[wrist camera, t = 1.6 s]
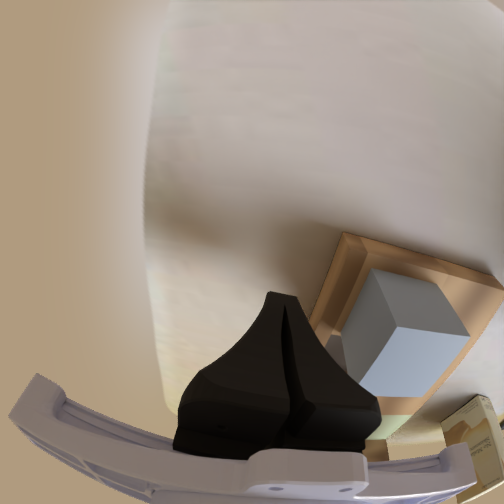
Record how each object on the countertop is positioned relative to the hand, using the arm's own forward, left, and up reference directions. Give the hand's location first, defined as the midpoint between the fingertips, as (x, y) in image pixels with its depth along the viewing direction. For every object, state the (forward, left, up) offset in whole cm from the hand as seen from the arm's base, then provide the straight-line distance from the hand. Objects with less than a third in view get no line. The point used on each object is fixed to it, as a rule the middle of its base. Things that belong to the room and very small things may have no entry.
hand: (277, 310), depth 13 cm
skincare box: (-28, +14, -4) cm, 31 cm away
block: (-7, 0, -2) cm, 7 cm away
